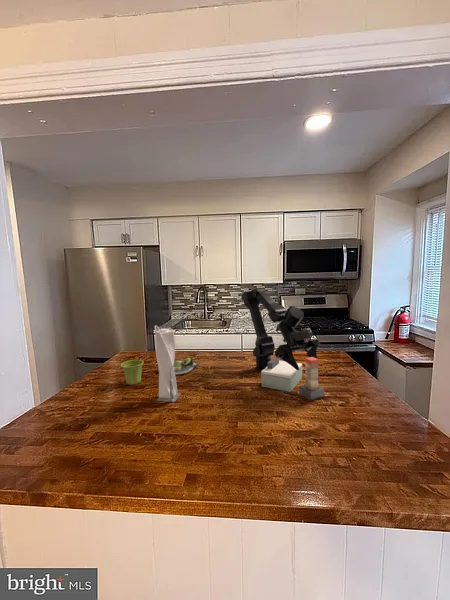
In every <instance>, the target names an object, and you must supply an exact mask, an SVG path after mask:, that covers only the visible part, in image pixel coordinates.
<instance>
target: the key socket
mask: <svg viewBox="0 0 450 600" xmlns="http://www.w3.org/2000/svg"><path fill="white" fill-rule="evenodd" d="M298 387H299V390H298V392H299V394H300V395H301V396H303V397H305V398H307V399H308V400H310V401H314V400H317V399H320V398H324V397H325V396H326V395H325V394H326V392H325V389H326V388H324V387H322V386H320V385H318V389H316V390H312V391H311V390H309V389H307V388H306V383H305V384H302V385H299V386H298Z"/></svg>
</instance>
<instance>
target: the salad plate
mask: <svg viewBox="0 0 450 600" xmlns="http://www.w3.org/2000/svg"><path fill="white" fill-rule="evenodd" d="M199 365H200V363H195V362H194V361H193V359H192V358H191V357H186V358H184V359H183V360H175V359H174V365H173V368H174V372H175V376H180V375H186V374H188V373H189V372H191V371H193V370H194V369H195V368H196V367H198V366H199ZM157 371H158V372H159V368H157Z"/></svg>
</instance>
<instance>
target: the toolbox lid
mask: <svg viewBox="0 0 450 600" xmlns="http://www.w3.org/2000/svg"><path fill="white" fill-rule="evenodd" d="M271 359H272V360H270V361H269V362H268V363H267V367H266V368H265V369H264V370H260V373H261V374H266V375H272V376H278V377H283V378H289V379H290V378H291V377H292V376H293V375H294V374H295V373H296V372H297V371H298V370H296V369H295V368H294V367H292V366H291V365H290V364H288V363H287V362H285V361H284V360H280V358H276V356H275V357H273V358H271ZM296 363H297V365H298V367H299V369H300V368H301V367H302V368H303V363H300V362H296Z"/></svg>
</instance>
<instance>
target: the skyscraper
mask: <svg viewBox="0 0 450 600" xmlns="http://www.w3.org/2000/svg"><path fill="white" fill-rule="evenodd" d="M154 331H155V333H154V334H155V335H154V339H155V345H154V349H155V356H156V362H157V365H158V369H159V371H158V398H157V399H156V401H157V402H166V403H175V402H176V401H177V400H178V399H179V398H180V397H181V395H182V393H181V392H178V385H177V379H176V375H175V372H174V368H173V365H174V360H175V357H176V340H175V339H176V337H175V331H174V329H172V328H171V327H168V328H160V327H159V326H158V325H156V324H155V325H154Z"/></svg>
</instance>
